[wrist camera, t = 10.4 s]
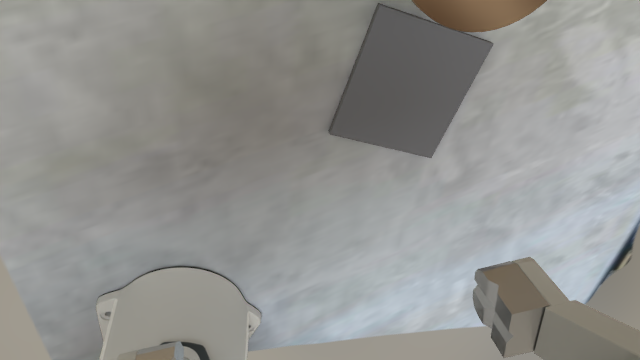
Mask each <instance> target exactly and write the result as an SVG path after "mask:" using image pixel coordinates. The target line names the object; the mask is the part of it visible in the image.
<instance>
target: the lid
mask: <svg viewBox="0 0 640 360" xmlns="http://www.w3.org/2000/svg"><path fill="white" fill-rule="evenodd" d="M412 1H413V2H414V4H415V5H416V6H417V7H418V8H419V9H420V10H421V11H423V12H424V13H425V14H426V15H427V16H429V17H430V18H431V19H433V20H434V21H436V22H438V23H439V24H441V25H443V26H446V27H448V28H451V29H454V30H458V31H463V32H485V31H490V30H495V29H499V28H502V27H505V26H508V25H510V24H512V23H514V22H516V21H519V20H520V19H522V18H524V17H525V16H527V15H529V14H530V13H532V12H533V11H534V10H536V9H537V8H538V7H540V6H541V5H542V4H543V3H545V2H546V1H547V0H412Z"/></svg>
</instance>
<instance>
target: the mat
mask: <svg viewBox="0 0 640 360" xmlns="http://www.w3.org/2000/svg"><path fill="white" fill-rule="evenodd" d="M492 46H493V43H491V42H489V41H486V40H483V39H480V38H477V37H475V36H472V35H469V34H466V33H463V32H460V31H457V30H454V29H451V28H448V27H446V26H443V25H440V24H437V23H434V22H431V21H428V20H425V19H422V18H419V17H417V16H414V15H411V14H408V13H405V12H402V11H399V10H396V9H393V8H391V7H388V6H385V5H382V4H379V3H378V5H377V8H376V10H375V13H374V15H373V18H372V21H371V23H370V26H369V28H368V31H367V34H366V36H365V39H364V41H363V44H362V46H361V49H360V52H359V54H358V57H357V59H356V62H355V65H354V67H353V70H352V72H351V75H350V77H349V80H348V83H347V85H346V88H345V90H344V93H343V96H342V98H341V101H340V103H339V106H338V108H337V111H336V114H335V116H334V119H333V121H332V124H331V127H330V129H329V133H330V134H331V135H335V136H340V137H344V138H348V139H352V140H356V141H361V142H365V143H369V144H373V145H378V146H382V147H386V148H390V149H395V150H399V151H403V152H407V153H411V154H416V155H420V156H424V157H428V158H431V157H432V156H433V154H434V152H435V150H436V148H437V146H438V145H439V143H440V141H441V139H442V137H443V135H444V134H445V132H446V130H447V128H448V126H449V124H450V123H451V121H452V119H453V117H454V115H455V113H456V112H457V110H458V108H459V106H460V104H461V102H462V101H463V99H464V97H465V95H466V93H467V91H468V90H469V88H470V86H471V84H472V82H473V80H474V79H475V77H476V75H477V73H478V71H479V69H480V68H481V66H482V64H483V62H484V60H485V58H486V57H487V55H488V53H489V51H490V49H491V47H492Z"/></svg>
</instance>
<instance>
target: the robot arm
mask: <svg viewBox="0 0 640 360" xmlns="http://www.w3.org/2000/svg"><path fill="white" fill-rule="evenodd" d="M475 281H476V282H477V284H478V285H477V286H476V288H475V289H474V290H473V302H474V306H475V309H476V312H477V314H478V316H479V318H480V320H481V321H482V323H483V324H485V325H486V326H488V327H490V328H492V333H491V338H492V340H493V341H494V343H495V344H496V346H497V348H498V349H499V351H500V353H501V354H502V356H503V358H506V357H511V356H515V355H520V354H524V353H529V352H533V351H534V353H535V354H536V355H538V356H539V357H541V358H542V359H543V360H640V331H639V330H637V329H635V328H633V327H631V326H629V325H626V324H624V323H622V322H620V321H618V320H616V319H614V318H611V317H610V316H608V315H605V314H603V313H601V312H599V311H597V310H595V309H593V308H590V307H589V306H587V305H584V304H582V303H580V302H578V301H576V300H573V301H569V300H568V298H567V297H566V296H565V295H564V294H563V293H562V291H561V290H560V289H559V288H558V287H557V286H556V284H555V283H554V282H553V281H552V280H551V279H550V277H549V276H548V275H547V274H546V273H545V272H544V271H543V269H542V268H541V267H540V266H539V265H538V264H537V262H536V261H535V260H534V259H532V258H531V257H527V258H523V259H519V260H515V261H509V262H505V263H501V264H497V265H493V266H489V267H485V268H481V269H478V270H477V271H476V272H475ZM96 312H97V316H98V320H99V325H100V329H101V333H102V338H103V342H104V343H103V347H102V351H101V355H100V359H99V360H247V357H248V340H249V338H250V337H251V335H252V334H253V333H254V331H255V330H256V329H257V327H258V326H259V324H260V323H261V313H260V312H259V311H258V310H257V309H256V308H254V307H253V306H251V305H250V304H248V303H247V302H246V301H245V299H244V298H243V296H242V294H241V293H240V291H239V290H238V289H237V287H236V286H235V285H233V284H232V283H231V282H230V281H228V280H227V279H225V278H223V277H222V276H219V275H217V274H215V273H212V272H209V271H205V270H201V269H195V268H168V269H162V270H158V271H154V272H151V273H148V274H146V275H143V276H141V277H140V278H138V279H136V280H135V281H133V282H132V283H130V284H129V285H128V286H126V287H125V288H123V289H121V290H118V291H115V292H111V293H108V294H105V295H102V296H101V297H99V298H98V300H97V304H96Z"/></svg>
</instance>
